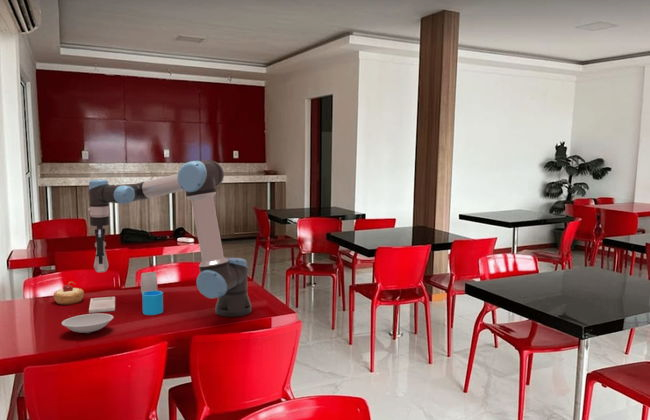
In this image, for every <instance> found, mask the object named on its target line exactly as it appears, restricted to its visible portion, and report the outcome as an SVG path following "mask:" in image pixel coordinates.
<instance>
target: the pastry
mask: <svg viewBox="0 0 650 420" xmlns="http://www.w3.org/2000/svg"><path fill="white" fill-rule="evenodd" d="M70 283H72V284H74V285H76V283H74V281H69V282H68V284H65V285H64V286H63V287H62V288H61V289H58V290H56V291H54V293H53V299H54V302H56V304H58V305H63V306H64V305H65V306H66V305H75V304H78V303H80V302H82V300H83V298H84V293H85V292H84V290H83V289H82V288H79V287H73V286H72V285H70Z"/></svg>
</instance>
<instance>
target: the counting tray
mask: <svg viewBox="0 0 650 420" xmlns="http://www.w3.org/2000/svg"><path fill="white" fill-rule="evenodd" d="M88 307H89V308H88V314H97V313H104V312H105V313H107V312H115V311H116V296H104V297H94V298H92V297H91V298H90V301H89V306H88Z"/></svg>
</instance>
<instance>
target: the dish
mask: <svg viewBox="0 0 650 420" xmlns="http://www.w3.org/2000/svg"><path fill="white" fill-rule="evenodd" d="M113 319H114V315H112V314H110V313H103V312H97V313H87V314H81V315H75V316H72V317H69V318H66V319H64V320H62V322H61V325H62V326H64V327H65V328H67V329H68V330H70V331H72V332H76V333H82V334H83V333H86V334H91V333H92V332H93V333H94V332H96V331H99V330H101V329H103V328H105V327H106V326H107V325H108V324H109V323H110V322H111V321H112V320H113Z"/></svg>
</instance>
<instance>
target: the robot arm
mask: <svg viewBox="0 0 650 420" xmlns="http://www.w3.org/2000/svg"><path fill="white" fill-rule="evenodd" d="M224 178H225V172H224V170H223V167H222V166H221V164H220V163H218V162H217V161H214V160H211V159H209V160H192V161H188V162H185V163H184V164H183V165H182V166H181V167H180V168H179V170H178V173H175V174H171V175H167V176H163V177H158V178H154V179H151V180H146V181H142V182H138V183H129V184H109V181H108V180H107V179H90V180H89V181H88V201H89V208H87V210H88V211H89V215H90V217H89V225H90V226H92V227H96V228H95V229H94V234H95V241H96V242H97V247H96V250H97V255H96V254H95V257H97V267H98V271H105V267H104V248H103V241H104V242H105V235H106V229H105V228H104V226H109V225H110V204H120V205H123V204H127V205H128V204H129V205H130V204H131V203H132V202H136V201H137V202H138V201H145V200H148V199H151V198H157V197H160V196H165V195H169V194H174V193H179V192H183V191H185V196H186V199H188V200H189V201H190V203H191V207H192V212H193V218H194V223H195V229H196V233H197V241H198V247H199V251H200V256H201V262H200V263H199V265H198V268H199V274H198V276H197V277H196V282H195V283H196V287H197V289H198V291H199V293H200V294H201V295H203V296H204V298H207V299H217V301H216V304H215V306H214V307H215V308H214V309H215V310H214V311H215V314H216V315H217V316H221V317H228V318H229V317H230V318H233V317H234V318H235V317H236V318H237V317H242V316H246V315H248V314H250V313H251V312H252V302H251V300H250V297H249V295H248V268H249V267H248V261H247V260H246V259H244V258H243V257H242V258H241V257H225V256H224V250H223V244H222V239H221V238H222V237H221V235H220V234H221V233H220V227H219V222H218V217H217V210H216V205H215V200H214V197H215V195H216V194H217V187H219V186H220V185H221V184H222V183H223V181H224ZM105 252H106V253H107V250H106V249H105ZM105 272H106V271H105Z"/></svg>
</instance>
